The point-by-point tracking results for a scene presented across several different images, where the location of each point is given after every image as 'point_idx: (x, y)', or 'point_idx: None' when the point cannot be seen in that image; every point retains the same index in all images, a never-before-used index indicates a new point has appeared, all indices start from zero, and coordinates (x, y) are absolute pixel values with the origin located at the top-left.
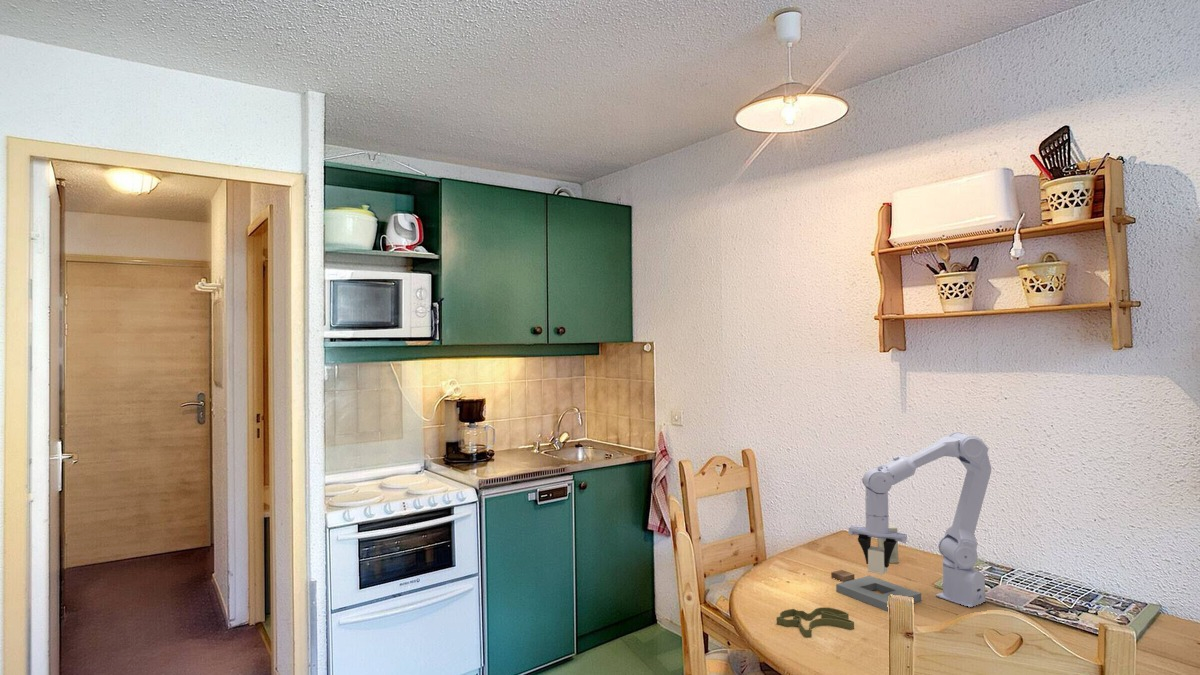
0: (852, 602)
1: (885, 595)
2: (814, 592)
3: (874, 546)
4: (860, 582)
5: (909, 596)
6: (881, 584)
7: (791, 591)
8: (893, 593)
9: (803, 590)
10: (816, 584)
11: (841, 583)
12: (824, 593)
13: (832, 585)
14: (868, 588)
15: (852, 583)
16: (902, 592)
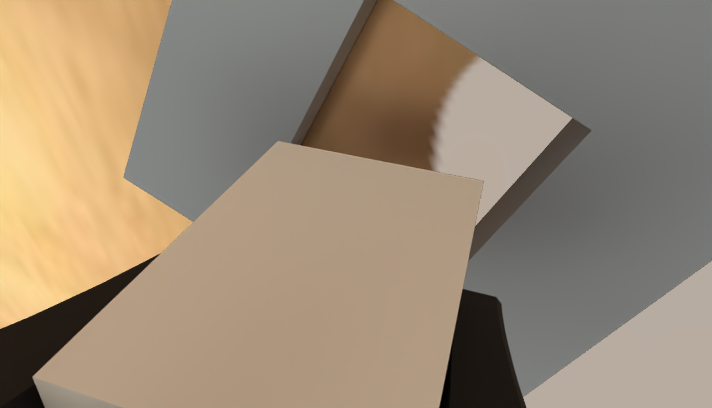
0: None
1: (483, 290)
2: (80, 217)
3: (102, 404)
4: (247, 53)
5: (707, 256)
6: (436, 9)
7: (3, 242)
8: (553, 230)
9: (28, 207)
10: (10, 67)
11: (143, 150)
12: (123, 213)
13: (86, 33)
14: (333, 70)
15: (203, 110)
16: (652, 171)
